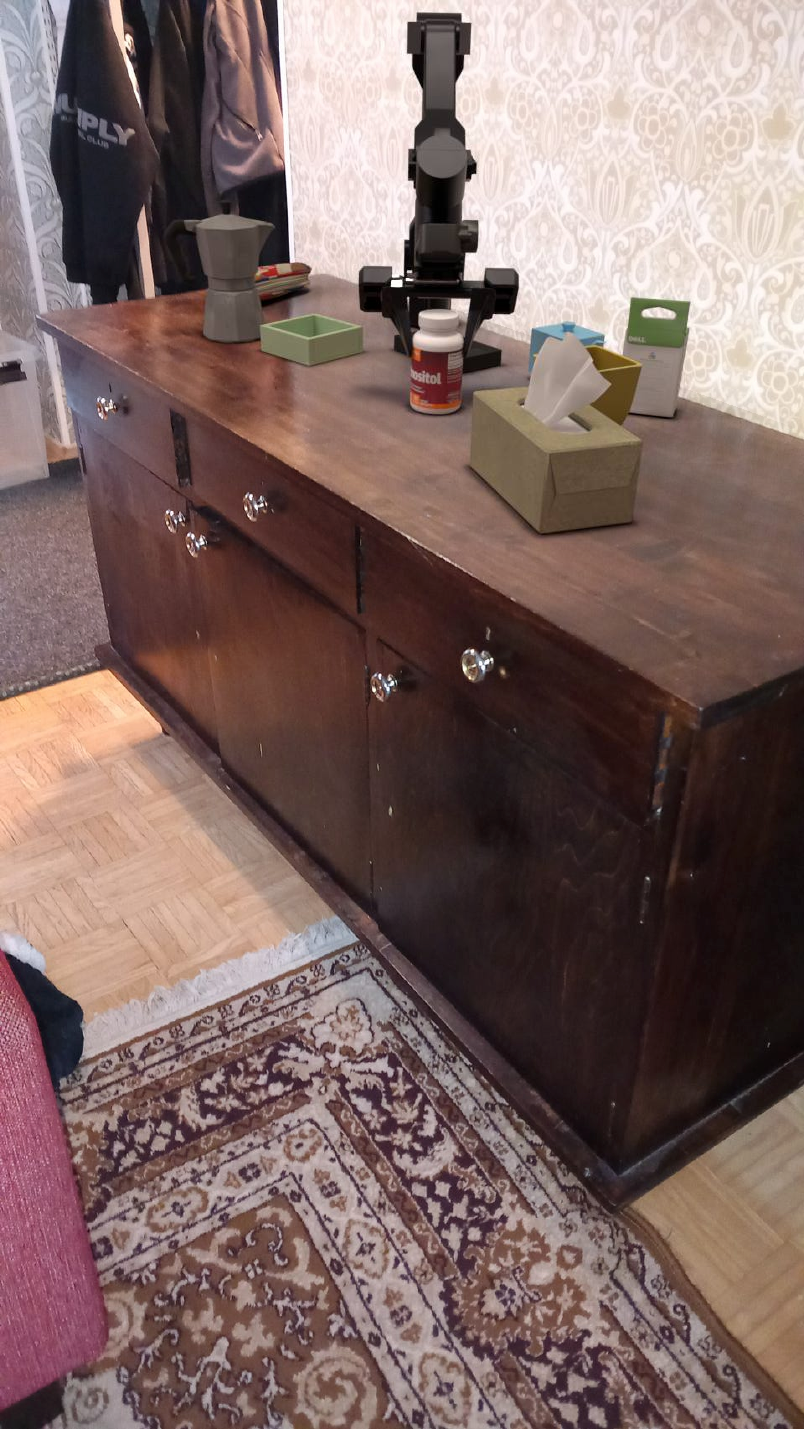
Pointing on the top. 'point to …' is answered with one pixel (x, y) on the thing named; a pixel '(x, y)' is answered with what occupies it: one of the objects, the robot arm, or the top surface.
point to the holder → (311, 339)
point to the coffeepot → (225, 271)
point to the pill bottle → (437, 363)
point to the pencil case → (281, 279)
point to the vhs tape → (476, 358)
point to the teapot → (562, 337)
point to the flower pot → (614, 382)
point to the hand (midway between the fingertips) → (437, 355)
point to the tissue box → (556, 444)
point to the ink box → (657, 354)
